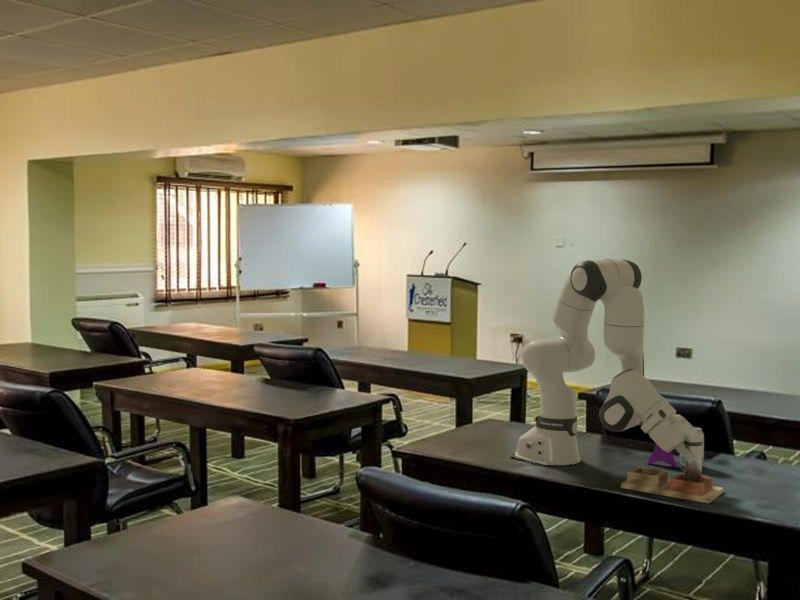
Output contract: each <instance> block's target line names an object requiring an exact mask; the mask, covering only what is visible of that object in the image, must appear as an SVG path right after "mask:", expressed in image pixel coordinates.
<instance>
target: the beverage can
mask: <svg viewBox="0 0 800 600" xmlns="http://www.w3.org/2000/svg"><path fill="white" fill-rule="evenodd" d="M693 427H694V428H695V430H696V431H697V435H701V436H702V467H703V466H704V465H705V464H704V463H705V434H704V431H702V428H701V427H699V426H693ZM683 445H684V446H685V444H683ZM679 464H680V465H681V466H682V467H683V468H685V456H683V455H682V454H680V453H679Z"/></svg>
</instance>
